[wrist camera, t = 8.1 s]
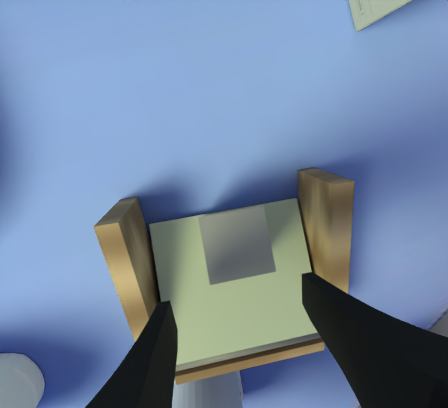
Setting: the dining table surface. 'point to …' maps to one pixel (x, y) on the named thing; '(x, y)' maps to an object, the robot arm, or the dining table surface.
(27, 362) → the jar
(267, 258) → the gray block
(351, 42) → the dining table surface
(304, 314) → the hatch
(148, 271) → the hatch frame
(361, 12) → the supplement box
